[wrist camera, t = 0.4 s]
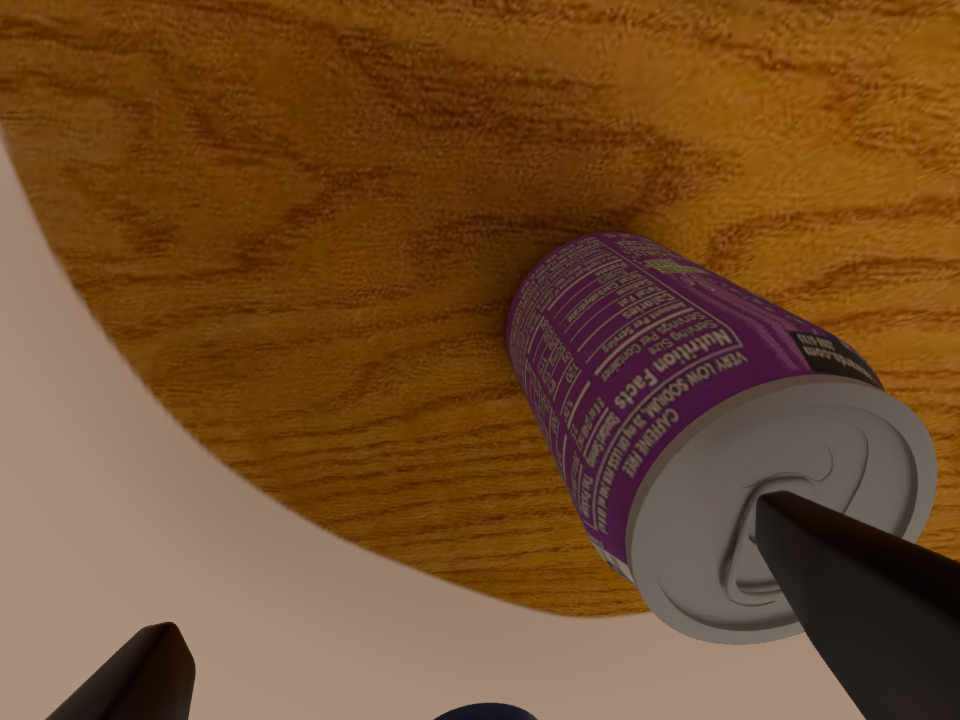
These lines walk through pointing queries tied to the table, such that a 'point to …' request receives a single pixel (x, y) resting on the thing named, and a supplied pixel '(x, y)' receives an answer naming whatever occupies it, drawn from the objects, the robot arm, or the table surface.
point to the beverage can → (703, 426)
